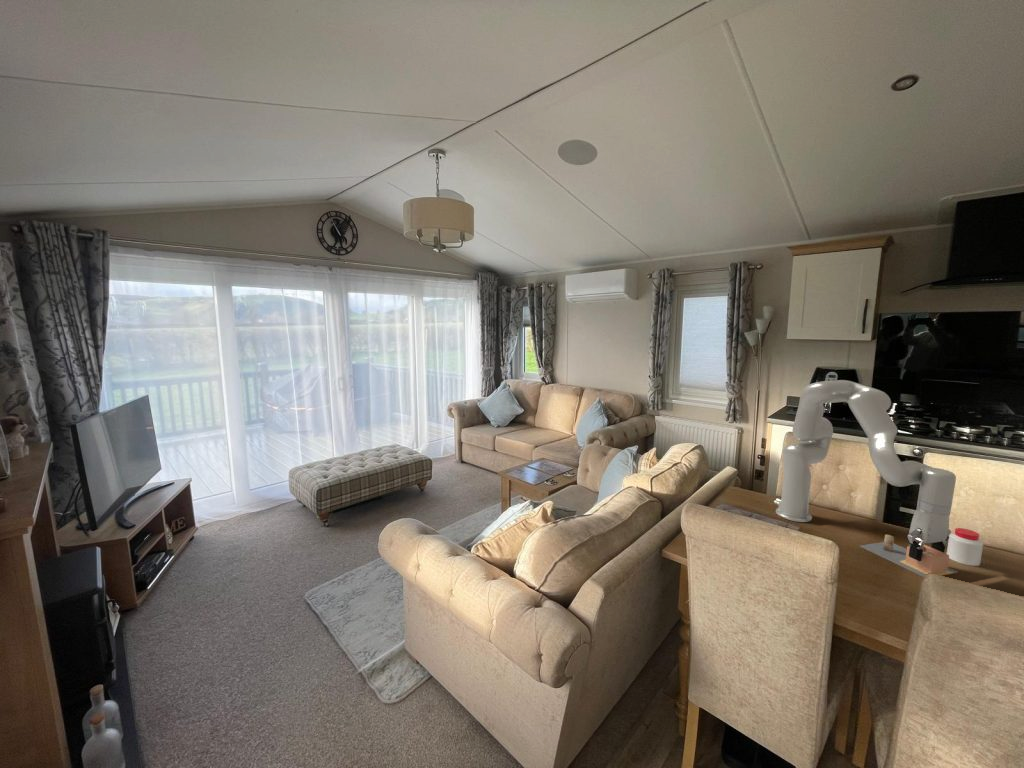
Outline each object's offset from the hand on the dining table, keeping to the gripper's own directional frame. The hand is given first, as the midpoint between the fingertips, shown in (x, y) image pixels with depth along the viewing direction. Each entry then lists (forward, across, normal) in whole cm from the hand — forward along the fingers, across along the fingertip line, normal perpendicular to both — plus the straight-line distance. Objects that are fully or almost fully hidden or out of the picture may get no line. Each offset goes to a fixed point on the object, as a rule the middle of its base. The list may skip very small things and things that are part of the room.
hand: (925, 556), depth 134 cm
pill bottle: (+5, -18, 0) cm, 19 cm away
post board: (+5, 0, -5) cm, 7 cm away
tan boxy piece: (+3, 0, 0) cm, 3 cm away
